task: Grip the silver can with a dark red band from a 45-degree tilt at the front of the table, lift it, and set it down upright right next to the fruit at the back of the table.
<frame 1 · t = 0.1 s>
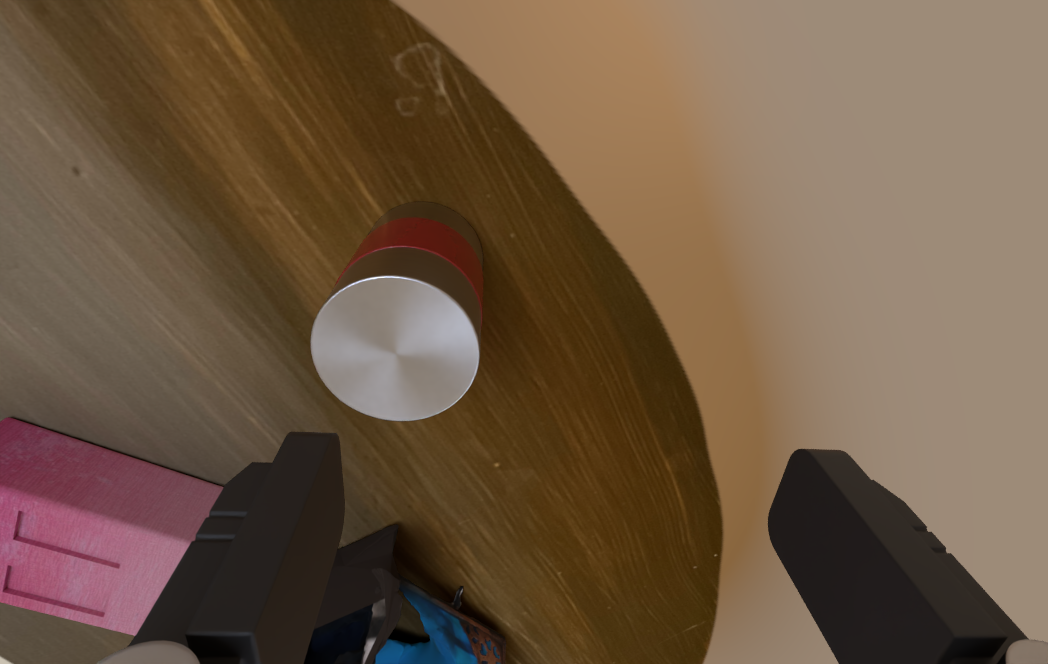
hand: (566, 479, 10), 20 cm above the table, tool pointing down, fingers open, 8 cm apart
popsicle: (86, 493, 35), on the table
lantern: (410, 633, 43), on the table
can: (425, 258, 29), on the table
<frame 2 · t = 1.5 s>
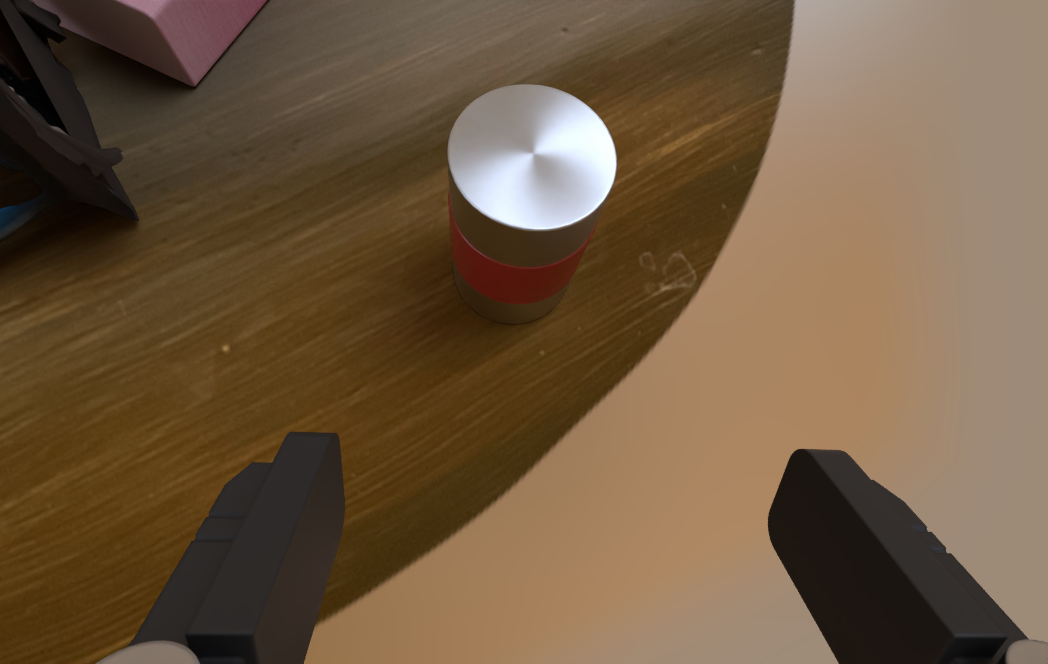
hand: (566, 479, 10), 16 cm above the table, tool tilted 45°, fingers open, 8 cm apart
can: (511, 269, 29), on the table
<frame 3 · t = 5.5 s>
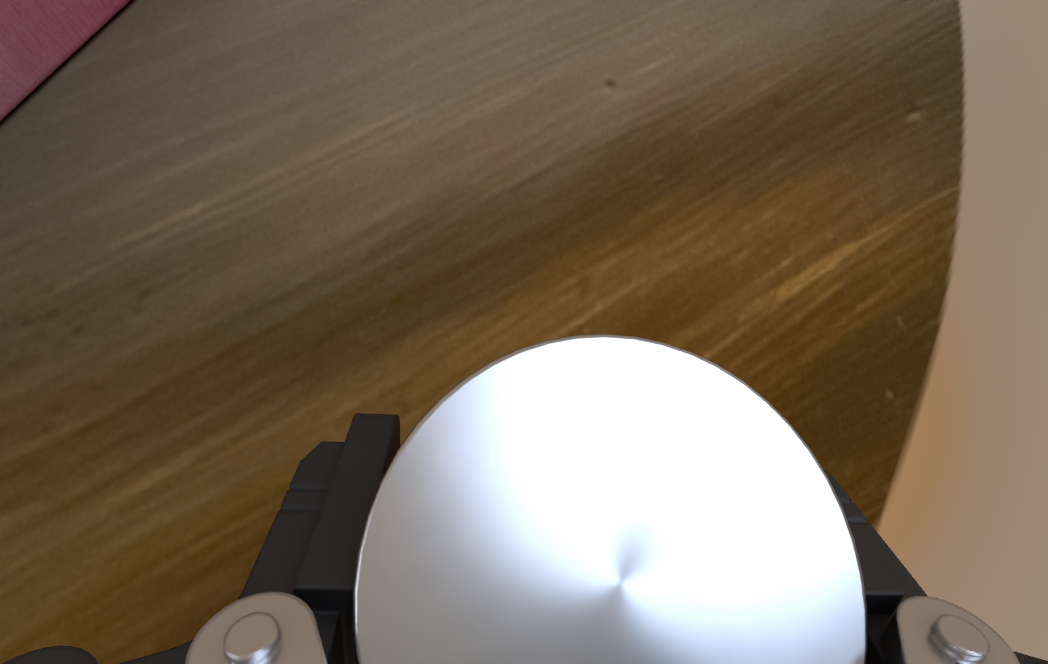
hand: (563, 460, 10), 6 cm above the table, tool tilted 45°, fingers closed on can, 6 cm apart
can: (527, 539, 16), on the table, touching gripper
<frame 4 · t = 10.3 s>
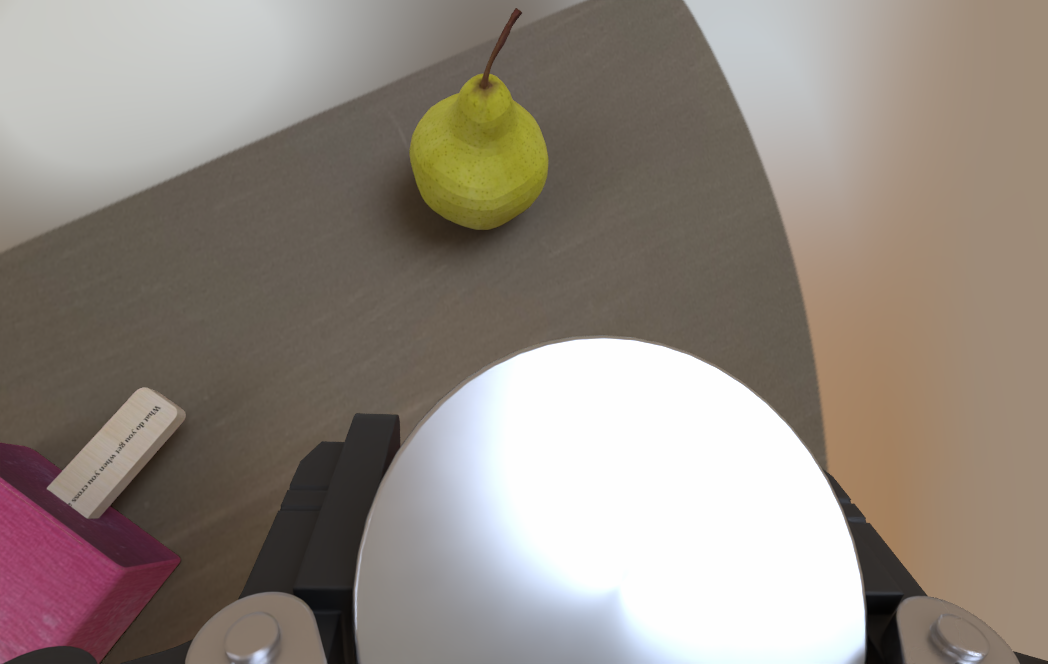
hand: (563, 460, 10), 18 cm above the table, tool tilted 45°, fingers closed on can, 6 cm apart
popsicle: (26, 596, 24), on the table
fruit: (476, 199, 33), on the table
can: (526, 540, 16), point 12 cm above the table, touching gripper
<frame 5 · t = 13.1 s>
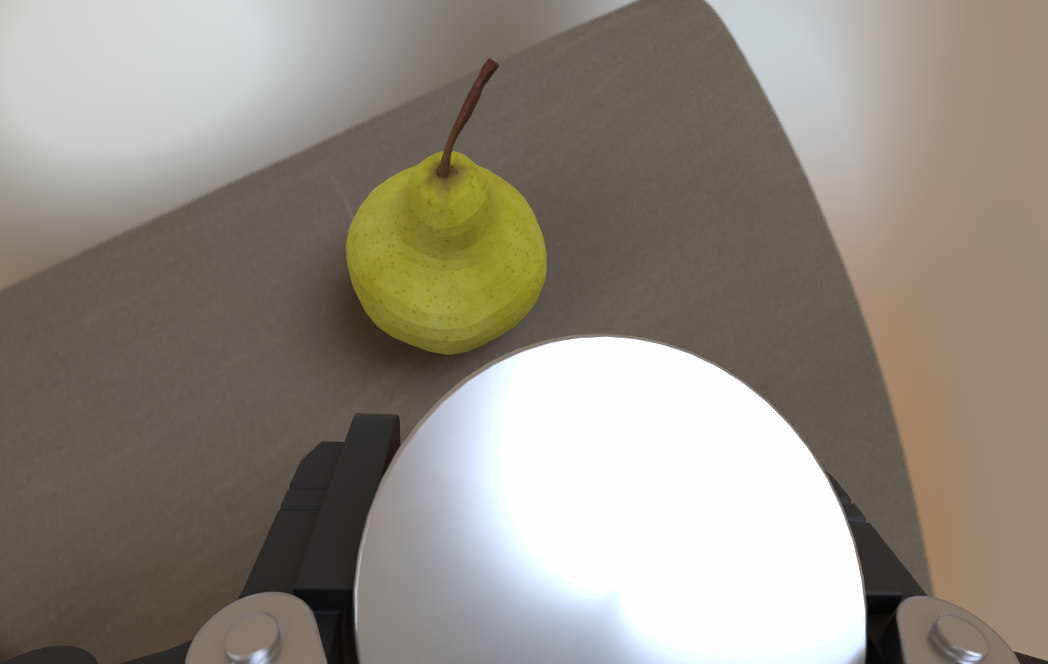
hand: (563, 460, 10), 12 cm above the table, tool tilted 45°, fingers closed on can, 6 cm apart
fruit: (450, 296, 24), on the table
can: (527, 539, 16), point 6 cm above the table, touching gripper
when the fingers open (6 cm above the table, at t = 15.2 s): can stays where it is, on the table.
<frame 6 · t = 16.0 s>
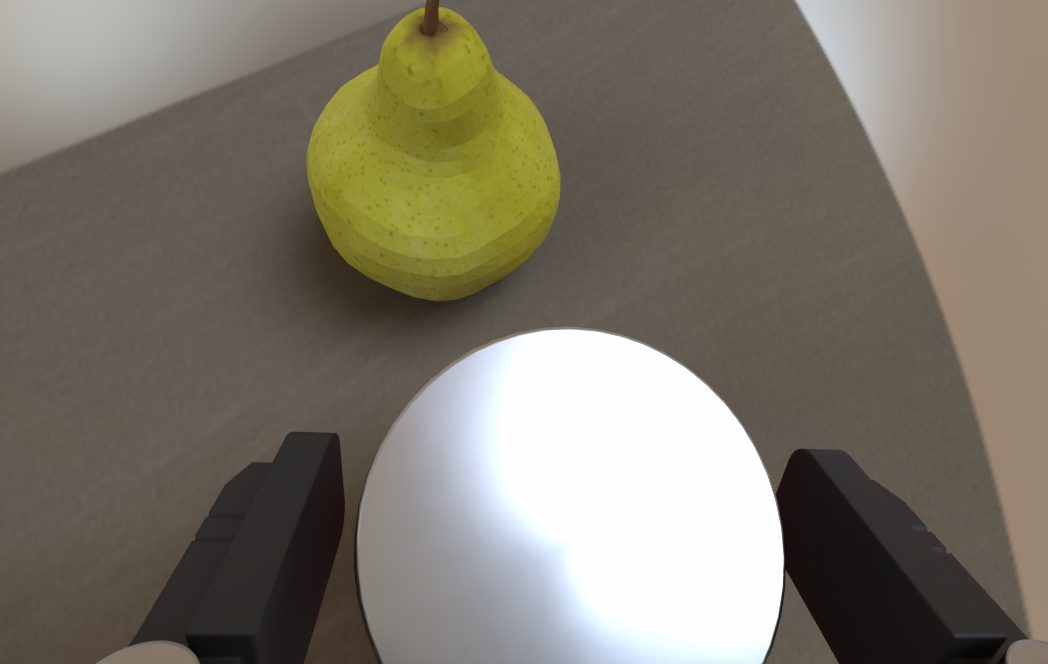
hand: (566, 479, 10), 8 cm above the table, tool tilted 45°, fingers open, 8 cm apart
fruit: (440, 240, 20), on the table
can: (513, 519, 17), on the table
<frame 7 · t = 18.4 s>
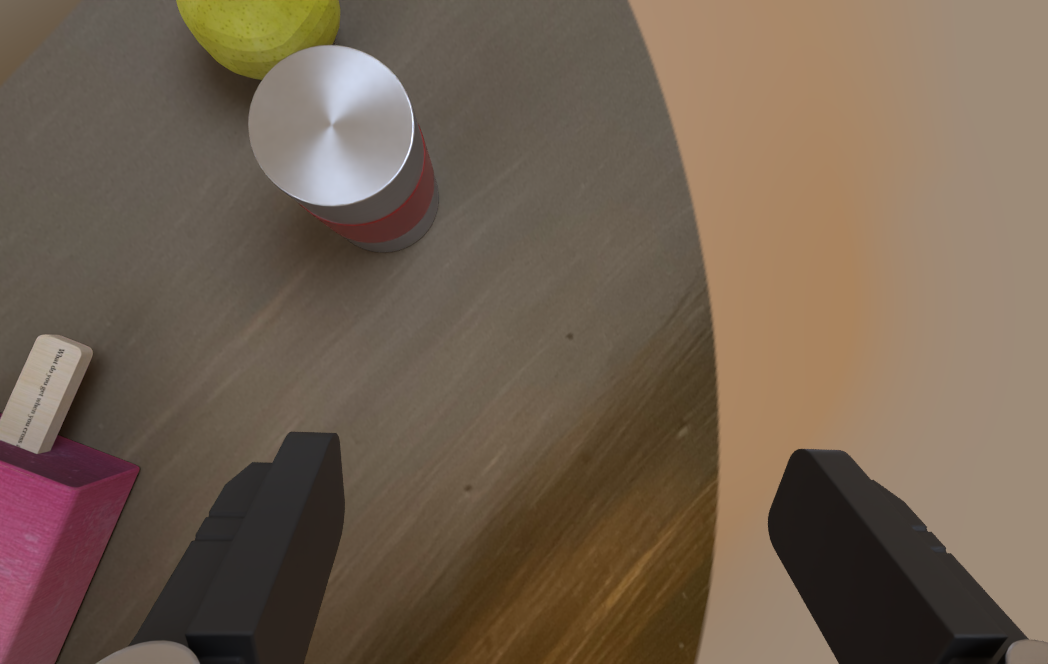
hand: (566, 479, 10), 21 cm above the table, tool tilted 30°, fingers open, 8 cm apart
popsicle: (24, 518, 29), on the table
fruit: (288, 45, 30), on the table
can: (383, 197, 30), on the table
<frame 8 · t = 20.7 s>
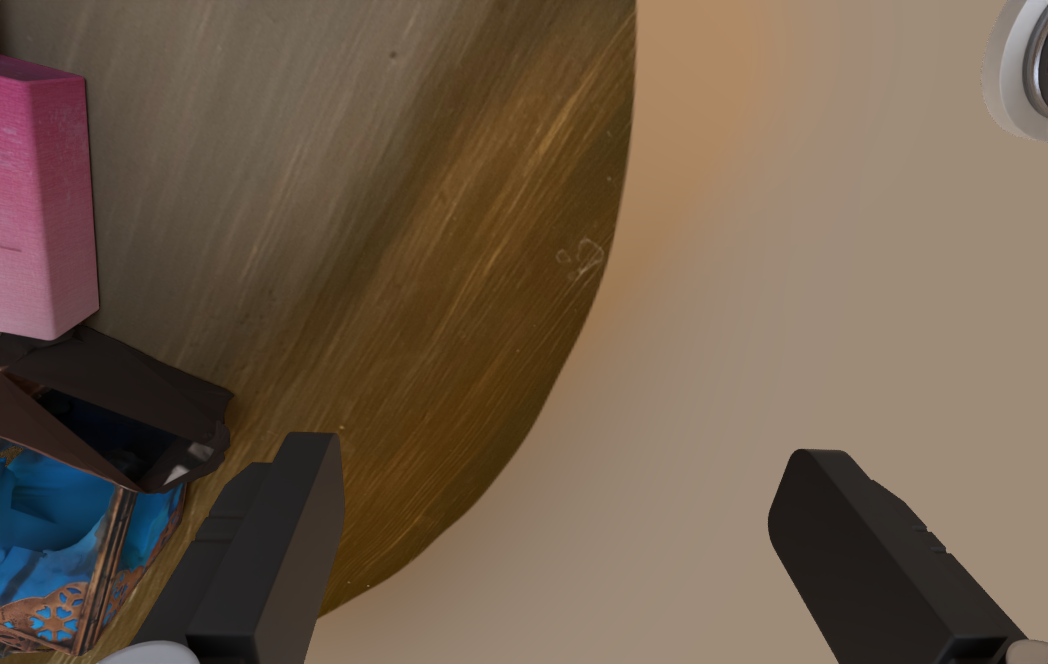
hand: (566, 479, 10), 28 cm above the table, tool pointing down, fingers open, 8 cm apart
popsicle: (8, 139, 33), on the table
lantern: (114, 456, 43), on the table
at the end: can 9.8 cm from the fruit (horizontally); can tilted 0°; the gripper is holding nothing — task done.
